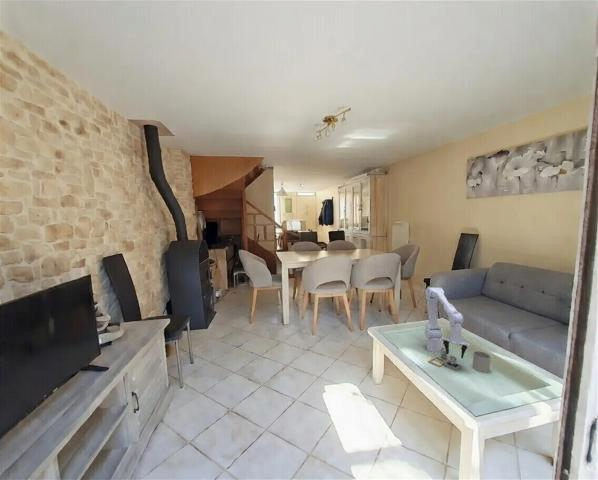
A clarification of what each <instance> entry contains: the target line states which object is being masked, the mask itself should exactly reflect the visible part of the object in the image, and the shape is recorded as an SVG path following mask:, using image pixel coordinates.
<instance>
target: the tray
mask: <svg viewBox="0 0 598 480" xmlns="http://www.w3.org/2000/svg"><path fill="white" fill-rule="evenodd" d="M433 361H435V362H438V363H439V364H437V363H435V362H433ZM446 362H448V361H447V360H444V359H442V358H441V357H438V356H434V357H432V358H431V359H429V360H427V363H429V364H430V365H433V366H435V367H438V368H441V367H442V366H444V364H445V363H446Z"/></svg>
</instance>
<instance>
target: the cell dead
mask: <svg viewBox="0 0 598 480" xmlns="http://www.w3.org/2000/svg"><path fill="white" fill-rule="evenodd" d="M440 351H441V352H440V359H443V360H445V361H447V360H448V354H447V352H446V349H445V347H442V348H441V349H440Z"/></svg>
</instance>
